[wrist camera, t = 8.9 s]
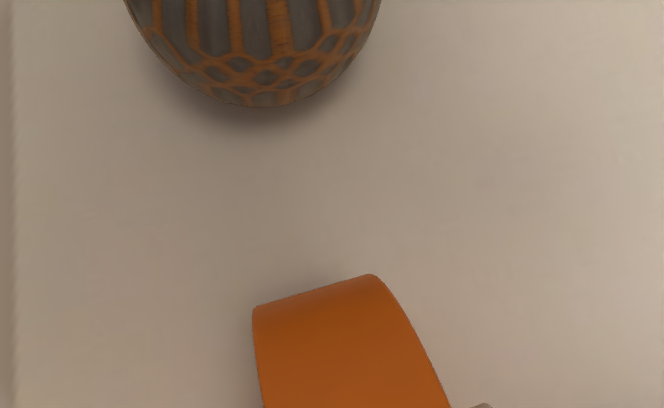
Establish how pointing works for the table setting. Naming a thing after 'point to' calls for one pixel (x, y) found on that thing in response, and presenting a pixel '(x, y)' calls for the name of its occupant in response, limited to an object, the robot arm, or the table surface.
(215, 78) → the vase
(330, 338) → the disc
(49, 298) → the table surface
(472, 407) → the robot arm
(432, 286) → the table surface
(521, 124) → the table surface
